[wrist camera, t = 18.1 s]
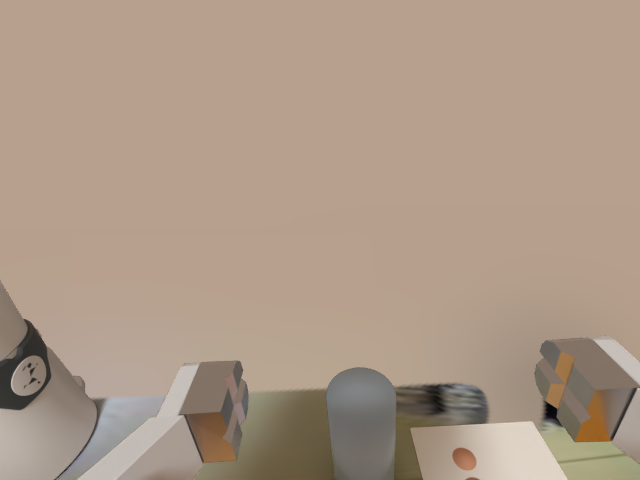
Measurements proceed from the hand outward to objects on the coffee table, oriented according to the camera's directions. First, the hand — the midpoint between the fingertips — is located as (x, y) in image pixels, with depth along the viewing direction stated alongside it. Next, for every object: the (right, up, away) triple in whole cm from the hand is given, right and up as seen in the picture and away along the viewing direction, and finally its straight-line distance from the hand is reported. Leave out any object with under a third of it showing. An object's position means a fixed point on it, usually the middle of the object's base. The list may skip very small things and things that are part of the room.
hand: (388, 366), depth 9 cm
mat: (+14, -19, +23) cm, 33 cm away
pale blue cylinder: (+2, -20, +23) cm, 30 cm away
